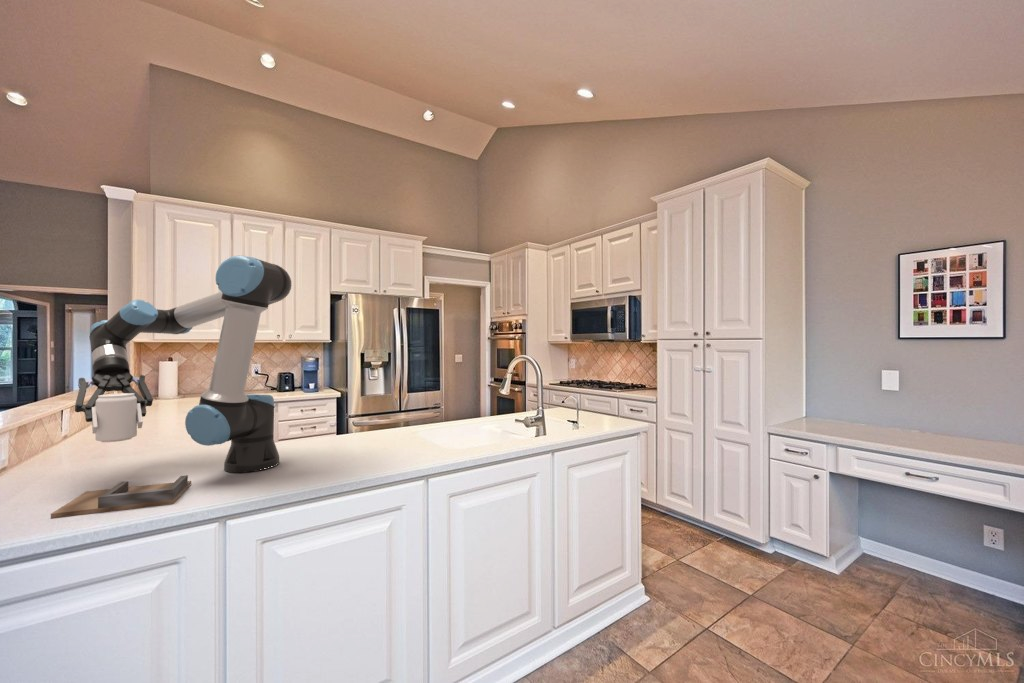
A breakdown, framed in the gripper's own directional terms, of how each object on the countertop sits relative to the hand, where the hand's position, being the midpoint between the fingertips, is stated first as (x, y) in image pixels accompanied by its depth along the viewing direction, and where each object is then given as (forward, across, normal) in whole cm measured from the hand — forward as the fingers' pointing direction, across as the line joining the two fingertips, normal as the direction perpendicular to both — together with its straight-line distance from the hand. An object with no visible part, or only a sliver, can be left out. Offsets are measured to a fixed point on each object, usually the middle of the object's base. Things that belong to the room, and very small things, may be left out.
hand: (118, 427), depth 112 cm
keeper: (+18, -1, -6) cm, 19 cm away
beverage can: (0, 0, -5) cm, 5 cm away
